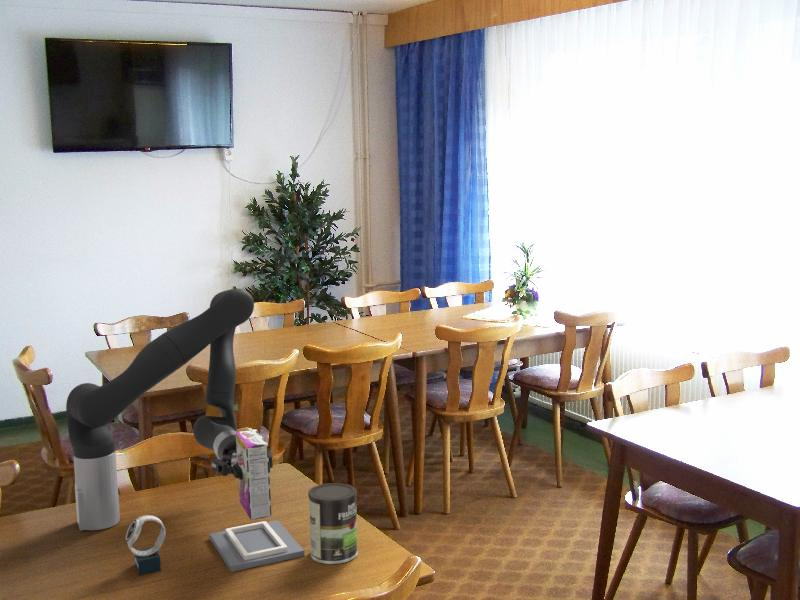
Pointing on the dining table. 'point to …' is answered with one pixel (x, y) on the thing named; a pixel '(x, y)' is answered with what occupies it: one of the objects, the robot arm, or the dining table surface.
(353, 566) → the dining table surface
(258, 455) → the candy bar box
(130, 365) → the robot arm
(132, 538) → the watch
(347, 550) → the coffee can
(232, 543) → the collar plate
